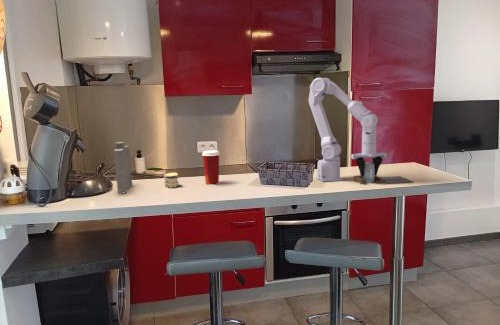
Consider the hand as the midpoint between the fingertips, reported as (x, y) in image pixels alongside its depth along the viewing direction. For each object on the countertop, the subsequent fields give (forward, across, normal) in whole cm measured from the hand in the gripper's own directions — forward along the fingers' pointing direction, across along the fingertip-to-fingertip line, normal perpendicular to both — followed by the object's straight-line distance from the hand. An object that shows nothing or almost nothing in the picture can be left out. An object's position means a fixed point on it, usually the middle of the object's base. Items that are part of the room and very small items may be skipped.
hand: (368, 175), depth 170 cm
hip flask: (+3, -102, +13) cm, 103 cm away
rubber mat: (+3, +12, 0) cm, 12 cm away
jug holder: (+3, 0, 0) cm, 3 cm away
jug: (+3, 0, -1) cm, 3 cm away
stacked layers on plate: (+3, -82, +14) cm, 83 cm away
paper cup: (+3, -65, +15) cm, 67 cm away
